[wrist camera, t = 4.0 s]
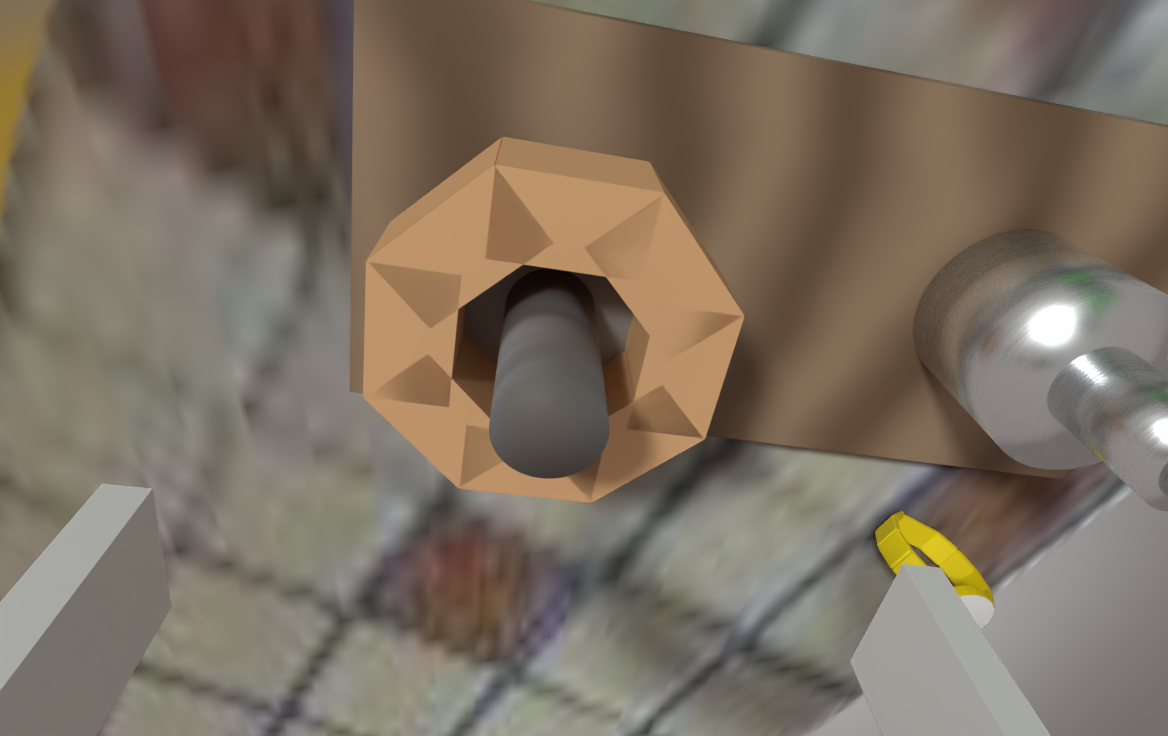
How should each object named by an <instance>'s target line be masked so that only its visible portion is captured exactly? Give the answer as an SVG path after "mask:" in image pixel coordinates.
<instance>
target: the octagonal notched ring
mask: <svg viewBox="0 0 1168 736" xmlns="http://www.w3.org/2000/svg"><path fill="white" fill-rule="evenodd" d="M523 264H524V265H530V266H537V267H544V268H551V269H557V270H564V271H571V272H577V273H584V274H591V275H598V276H604V277H606V278H607V279H608V280H609V282H610V283H611V284H612V286H613V287H614V288H615V290H616V291H617V292H618V294H619V295H620V296H621V298H622V299H623V301H624V302H625V303H626V305H627V306H628V307H629V309H630V310H631V311H632V313H633V316H632V320H631V325H630V329H629V333H628V338H627V342H626V346H625V351H624V352H622V353H621V354H619V355H617V356H616V357H614V358H613V359H611V360H609V361H608V362H606V363H604V364H603V365H602V370H603V378H604V386H605V395H606V403H607V411H608V419H609V438H608V441H607V444H606V447H605V449H604V451H603V452H602V454H601V455H600V456H599V458H598V459H597V460H596V461H595V462H594V463H592V464H591V465H590V466H589V467H587V468H586V469H584V470H582V471H580V472H578V473H576V474H573V475H570V476H566V477H562V478H553V479H545V478H536V477H531V476H528V475H525V474H522V473H520V472H518V471H516V470H514V469H512V468H511V467H509V466H508V465H507V464H506V463H504V462H503V461H502V460H501V459H500V457H499V456H498V455H497V453H496V452H495V450H494V448H493V446H492V444H491V441H490V437H489V422H490V415H491V407H492V400H493V392H494V385H495V378H496V370H497V366H496V365H495V364H494V363H493V362H492V360H491V359H490V358H489V357H488V356H487V355H486V354H485V353H484V352H483V350H482V349H481V348H480V347H479V346H478V345H477V344H476V343H475V342H474V340H473V339H472V338H471V337H470V336H469V335H468V334H467V333H466V332H465V330H464V329H463V328H464V318H465V308H466V304H467V303H468V302H470V301H471V300H472V299H474V298H475V297H477V296H478V295H480V294H481V293H483V292H484V291H485V290H487V289H488V288H490V287H491V286H493V285H494V284H496V283H497V282H498V281H500V280H501V279H503V278H504V277H506V276H507V275H509V274H510V273H511V272H513V271H514V270H516V269H517V268H519V267H520V266H522V265H523ZM743 320H744V314H743V312H742V310H741V308H740V306H739V305H738V303H737V301H736V299H735V297H734V295H733V293H732V292H731V290H730V288H729V286H728V284H727V282H726V280H725V278H724V277H723V275H722V273H721V271H720V270H719V268H718V267H717V265H716V264H715V262H714V260H713V259H712V257H711V256H710V254H709V253H708V251H707V250H706V248H705V247H704V245H703V243H702V242H701V240H700V239H699V237H698V236H697V234H696V233H695V231H694V230H693V228H692V226H691V225H690V223H689V222H688V220H687V219H686V217H685V216H684V214H683V213H682V211H681V209H680V208H679V206H678V205H677V203H676V202H675V200H674V199H673V197H672V196H671V194H670V192H669V191H668V189H667V188H666V186H665V185H664V183H663V182H662V180H661V179H660V177H659V175H658V174H657V172H656V171H655V169H654V168H653V166H652V165H651V163H649V161H643V160H637V159H631V158H625V157H619V156H614V155H608V154H602V153H596V152H590V151H584V150H578V149H572V148H567V147H561V146H555V145H549V144H543V143H537V142H531V141H526V140H520V139H514V138H508V137H503V138H502V137H501V138H500V139H499V140H497V141H496V142H495V143H493V144H492V145H491V146H489V147H488V148H487V149H485V150H484V151H483V152H481V153H480V154H479V155H478V156H476V157H475V158H474V159H472V160H471V161H470V162H468V163H467V164H466V165H464V166H463V167H462V168H460V169H459V170H458V171H456V172H455V173H454V174H452V175H451V176H450V177H449V178H447V179H446V180H445V181H443V182H442V183H441V184H439V185H438V186H437V187H435V188H434V189H433V190H431V191H430V192H429V193H427V194H426V195H425V196H423V197H422V198H421V199H420V200H418V201H417V202H416V203H414V204H413V205H412V206H410V207H409V208H408V209H406V210H405V211H404V212H402V213H401V214H400V215H398V216H397V217H396V218H394V219H393V220H392V221H391V222H390V223H389V225H388V226H387V228H386V229H385V231H384V233H383V234H382V236H381V238H380V239H379V241H378V243H377V244H376V246H375V247H374V249H373V251H372V252H371V254H370V256H369V257H368V259H367V261H366V282H365V328H364V373H363V397H364V399H365V400H366V401H367V402H368V403H369V404H370V405H372V406H373V407H374V408H375V409H376V410H377V411H378V412H379V413H380V414H381V415H382V416H383V417H384V418H385V419H386V420H387V421H388V422H389V423H390V424H391V425H392V426H394V427H395V428H396V429H397V430H398V431H399V432H400V433H401V434H402V435H403V436H404V437H405V438H406V439H407V440H408V441H409V442H410V443H411V444H412V445H413V446H414V447H416V448H417V449H418V450H419V451H420V452H421V453H422V454H423V455H424V456H425V457H426V458H427V459H428V460H429V461H430V462H431V463H432V464H433V465H434V466H435V467H437V468H438V469H439V470H440V471H441V472H442V473H443V474H444V475H445V476H446V477H447V478H448V479H449V480H450V481H451V482H452V483H453V484H454V485H455V486H456V487H457V488H459V487H460V488H459V489H466V490H476V491H485V492H494V493H503V494H512V495H521V496H531V497H540V498H549V499H558V500H567V501H577V502H586V503H592V502H594V501H596V500H598V499H599V498H601V497H603V496H605V495H607V494H608V493H610V492H612V491H614V490H615V489H617V488H619V487H621V486H623V485H624V484H626V483H628V482H630V481H631V480H633V479H635V478H637V477H639V476H640V475H642V474H644V473H646V472H648V471H649V470H651V469H653V468H655V467H656V466H658V465H660V464H662V463H664V462H665V461H667V460H669V459H671V458H672V457H674V456H676V455H678V454H680V453H681V452H683V451H685V450H687V449H689V448H690V447H692V446H694V445H696V444H697V443H699V442H701V441H703V440H704V439H705V438H706V435H707V431H708V428H709V425H710V422H711V419H712V416H713V413H714V410H715V407H716V403H717V400H718V397H719V394H720V391H721V388H722V385H723V382H724V379H725V376H726V372H727V369H728V366H729V363H730V360H731V357H732V354H733V351H734V348H735V344H736V341H737V338H738V335H739V332H740V329H741V326H742V323H743Z"/></svg>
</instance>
